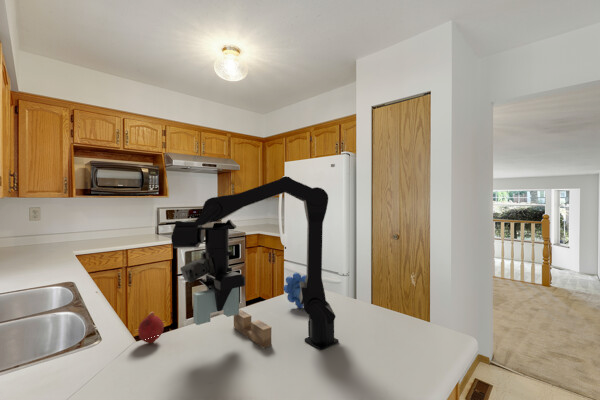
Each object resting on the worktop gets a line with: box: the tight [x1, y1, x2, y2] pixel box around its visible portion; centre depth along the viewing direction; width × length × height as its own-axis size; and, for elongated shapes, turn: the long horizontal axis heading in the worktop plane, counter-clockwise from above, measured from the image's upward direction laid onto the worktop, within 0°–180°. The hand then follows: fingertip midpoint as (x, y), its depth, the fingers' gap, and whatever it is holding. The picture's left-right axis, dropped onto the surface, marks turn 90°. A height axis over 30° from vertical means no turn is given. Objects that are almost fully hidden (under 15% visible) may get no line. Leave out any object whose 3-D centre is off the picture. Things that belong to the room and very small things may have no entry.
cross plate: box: [192, 287, 240, 326], centre depth 73 cm, size 2×11×7 cm, turn 129°
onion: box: [137, 311, 165, 344], centre depth 75 cm, size 6×6×8 cm
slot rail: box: [233, 309, 272, 349], centre depth 79 cm, size 16×2×4 cm, turn 39°
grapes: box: [283, 272, 306, 309], centre depth 99 cm, size 12×7×12 cm, turn 85°
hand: (217, 309), depth 73 cm, fingers closed on cross plate, 2 cm apart
